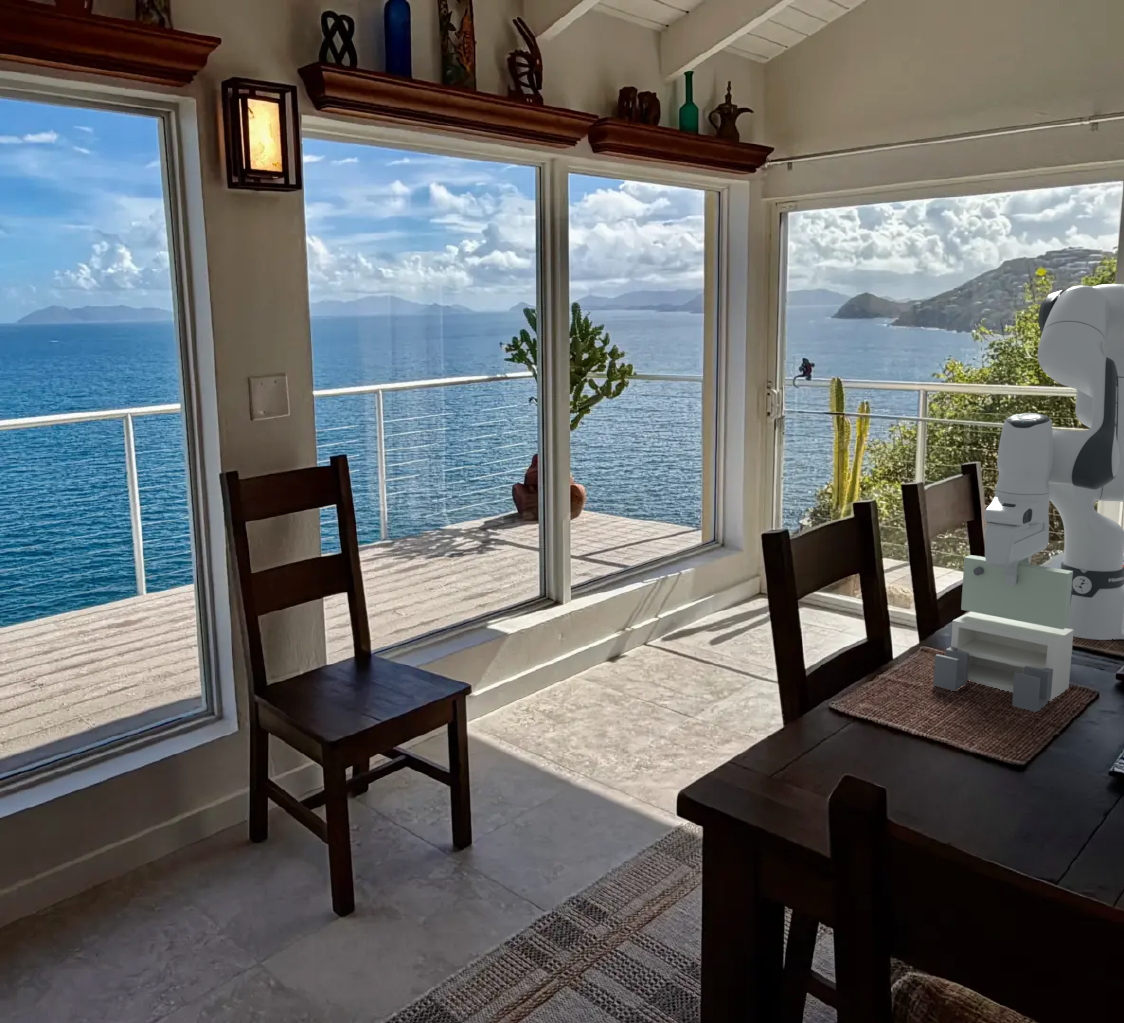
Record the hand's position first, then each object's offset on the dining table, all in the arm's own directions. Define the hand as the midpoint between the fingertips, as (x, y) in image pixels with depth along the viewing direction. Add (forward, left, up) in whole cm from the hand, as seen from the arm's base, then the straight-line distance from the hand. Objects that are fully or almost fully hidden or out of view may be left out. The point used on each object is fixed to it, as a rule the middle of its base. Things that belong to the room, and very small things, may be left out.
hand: (1015, 582), depth 182 cm
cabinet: (+3, 0, -19) cm, 19 cm away
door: (0, 0, -7) cm, 7 cm away
